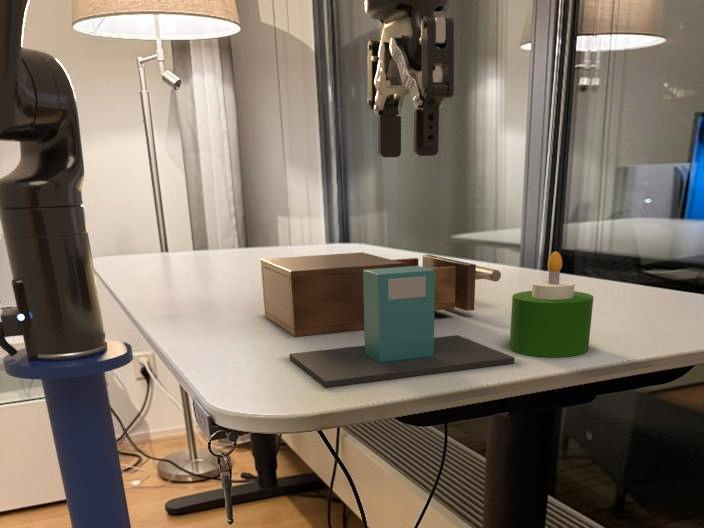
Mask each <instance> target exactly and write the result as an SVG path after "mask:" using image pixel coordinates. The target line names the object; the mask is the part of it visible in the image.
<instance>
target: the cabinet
mask: <svg viewBox="0 0 704 528" xmlns="http://www.w3.org/2000/svg"><path fill="white" fill-rule="evenodd" d="M395 267H405V263H403V262H399V261H395V260H394V259H390V258H387V257H383V256H378V255H374V254H371V253H368V252H367V253H366V252H348V253H347V252H346V253H331V254H318V255H317V254H316V255H301V256H300V255H299V256H288V257H271V258H260V269H261V282H262V295H263V297H262V298H263V308H264V317H265V318H267V320H270V321H271V322H272V323H274V324H275V325H277V326H279V327H280V328H282V329H283V330H285V331H286V332H287V333H289V334H291V335H292V336H294V337H303V336H313V335H323V334H330V333H331V334H332V333H333V334H334V333H342V332H351V331H363V330H365V329H364V286H363V270H368V269H381V268H395Z"/></svg>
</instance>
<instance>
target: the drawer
mask: <svg viewBox="0 0 704 528" xmlns="http://www.w3.org/2000/svg"><path fill="white" fill-rule="evenodd" d="M393 260H395V261H399V262H403V263H405V267H408V266H419V258H418V257H409V258H397V259H393ZM422 267H424V268H428V269H432V270H435V311H444V310H455V309H460V310H463V311H466V312H468V311H475V301H476V300H475V299H476V298H475V297H476V280H477V281H478V280H486V281H491V282H499V281H500V280H501V277H502V273H501V271H499V270H498V269H495V268H489V267H484V266H479V265H477V264H476V263H471V262H466V261H460V260H456V259H451V258H446V257H443V256H442V257H441V256H438V255H437V256H436V255H432V254H424V255H422ZM435 311H434V312H435Z"/></svg>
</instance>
